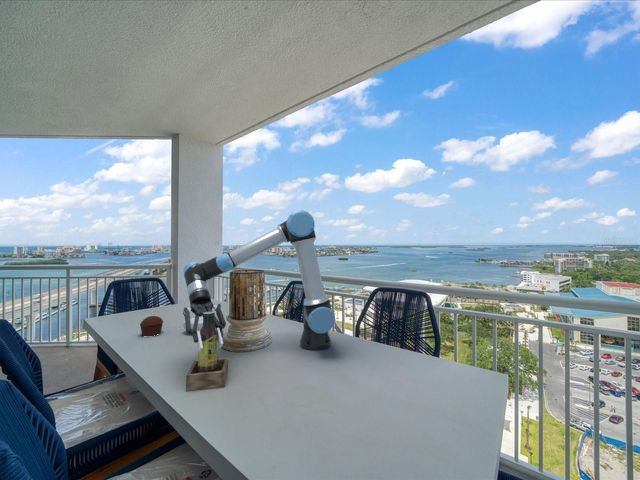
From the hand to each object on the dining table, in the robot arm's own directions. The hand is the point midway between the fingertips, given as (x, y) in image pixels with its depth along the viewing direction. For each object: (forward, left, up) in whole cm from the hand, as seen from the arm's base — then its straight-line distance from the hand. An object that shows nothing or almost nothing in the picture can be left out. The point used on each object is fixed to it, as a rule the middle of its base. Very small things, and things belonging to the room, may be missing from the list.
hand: (211, 347), depth 98 cm
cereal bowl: (+16, -69, -13) cm, 72 cm away
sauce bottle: (+2, -3, -9) cm, 9 cm away
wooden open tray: (+1, -3, -12) cm, 13 cm away
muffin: (+41, -70, -13) cm, 82 cm away
